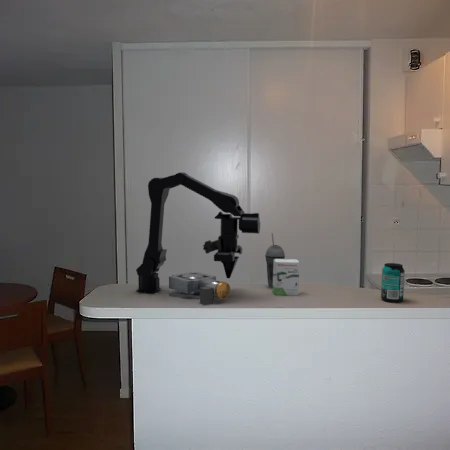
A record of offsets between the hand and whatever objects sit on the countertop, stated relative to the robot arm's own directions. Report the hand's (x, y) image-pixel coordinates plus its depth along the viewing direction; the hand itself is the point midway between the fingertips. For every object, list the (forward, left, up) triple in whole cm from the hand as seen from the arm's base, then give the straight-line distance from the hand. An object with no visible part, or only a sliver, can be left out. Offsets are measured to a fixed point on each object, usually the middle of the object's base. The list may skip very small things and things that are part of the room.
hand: (228, 278), depth 169 cm
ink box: (+18, +10, -6) cm, 21 cm away
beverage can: (+53, +14, -6) cm, 55 cm away
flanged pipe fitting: (-8, -4, -5) cm, 10 cm away
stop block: (-3, -12, -6) cm, 14 cm away
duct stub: (-12, -2, -6) cm, 14 cm away
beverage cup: (+12, +18, -6) cm, 22 cm away
